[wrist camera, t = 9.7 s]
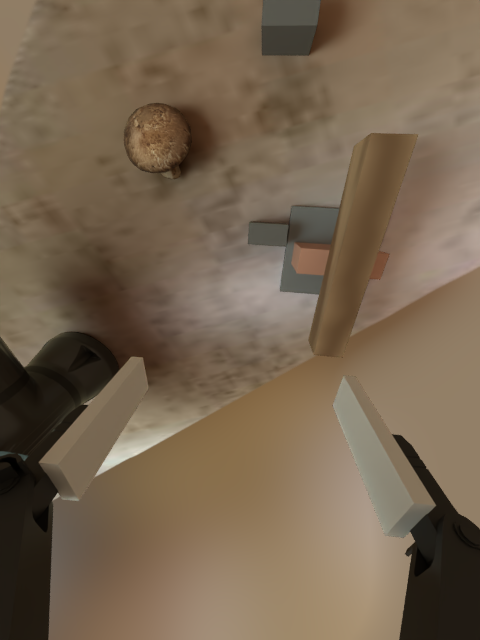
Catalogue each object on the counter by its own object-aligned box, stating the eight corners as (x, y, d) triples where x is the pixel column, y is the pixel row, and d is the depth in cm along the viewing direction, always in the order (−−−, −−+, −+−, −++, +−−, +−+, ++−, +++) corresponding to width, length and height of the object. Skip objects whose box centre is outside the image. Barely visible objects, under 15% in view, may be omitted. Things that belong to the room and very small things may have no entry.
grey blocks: (249, 240, 31) (247, 244, 28) (264, 18, 21) (264, -21, 18) (283, 242, 31) (285, 246, 27) (313, 17, 21) (323, -22, 18)
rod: (308, 339, 30) (313, 354, 27) (354, 146, 20) (371, 133, 17) (333, 342, 30) (342, 357, 27) (393, 147, 20) (418, 134, 17)
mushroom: (180, 202, 27) (150, 158, 21) (138, 184, 29) (99, 139, 23) (212, 151, 27) (191, 93, 21) (168, 137, 30) (137, 80, 24)
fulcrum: (279, 289, 34) (283, 305, 28) (291, 206, 29) (299, 204, 23) (355, 295, 33) (375, 313, 27) (381, 211, 28) (415, 210, 22)
